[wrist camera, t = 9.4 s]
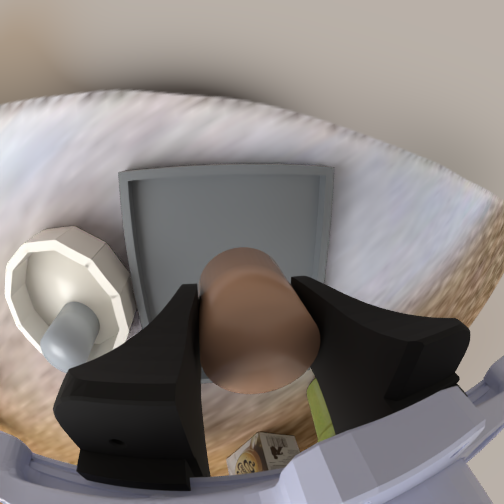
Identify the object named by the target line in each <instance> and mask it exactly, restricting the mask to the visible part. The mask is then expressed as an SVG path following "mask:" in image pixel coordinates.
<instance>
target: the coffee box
mask: <svg viewBox="0 0 504 504" xmlns="http://www.w3.org/2000/svg"><path fill="white" fill-rule="evenodd" d="M299 453H300V450H299V448H298V445H297V442H296V439H295V437H294V436H290V435H279V434H271V433H263V432H258V433H256V434H255V435H254V436H253V437H252V438H251V439H250V440H249V441H247V442H246V443H245V444H244V445H243V446H242V447H240V448H239V449H238V450H237V451H236V452H235V453H233V454H232V455H231V456H230V457H228V458H227V459H226V460H227V466H228V471H229V476H230V475H240V474H248V473H255V472H262V471H268V470H274V469H279V468H284V467H286V465H287V464H288V463H289V462H290V461H291V460H292V459H293V458H294V457H295V455H297V454H299Z"/></svg>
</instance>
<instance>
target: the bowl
mask: <svg viewBox="0 0 504 504" xmlns="http://www.w3.org/2000/svg"><path fill="white" fill-rule="evenodd" d="M5 298H6V300H7V303H8V306H9V308H10V311H11V313H12V316H13V318H14V321H15V323H16V325H17V327H18V328H19V330H20V331H21V332H22V333H23V334H24V335H25V337H26V338H27V339H28V340H29V341H30V342H31V343H32V344H33V345H34V347H35V348H36V349H37V350H38V351H39V352H41V353H42V350H41V347H40V342H41V339H42V337H43V335H44V334H45V332H46V331H47V329H48V328H49V326H50V325H51V323H52V322H53V320H54V319H55V318H56V316H57V315H58V313H59V312H60V310H61V309H62V308H63V306H64V305H65V304H67V303H69V302H79V303H82V304H84V305H86V306H88V307H89V308H90V309H91V310H92V311H93V312H94V313H95V314H96V316H97V318H98V320H99V324H100V330H99V333H98V335H97V338H96V340H95V342H94V344H93V347H92V349H91V352H90V354H89V356H88V359H87V361H86V362H88V361H91V360H93V359H96V358H98V357H100V356H102V355H104V354H106V353H108V352H110V351H111V350H113V349H115V348H117V347H118V346H120V345H122V344H123V343H124V342H125V341H126V339H127V336H128V333H129V330H130V327H131V324H132V321H133V318H134V315H135V312H136V309H137V305H136V301H135V296H134V291H133V286H132V281H131V276H130V273H129V272H128V270H127V269H126V268H125V267H124V265H123V264H122V263H121V261H120V260H119V259H118V257H117V256H116V255H115V253H114V252H113V251H112V249H111V248H110V247H109V245H108V244H107V243H106V242H104V241H102V240H100V239H98V238H96V237H95V236H93V235H91V234H89V233H87V232H85V231H83V230H81V229H79V228H77V227H75V226H69V227H60V228H52V229H45V230H43V231H42V232H40V233H38V234H37V235H35V236H34V237H32V238H31V239H29V240H28V241H26V242H25V243H23V245H22V246H21V247H20V248H19V249H18V251H17V252H16V253H15V254H14V256H13V257H12V258H11V259H10V261H9V262H8V263H7V265H6V277H5ZM42 354H43V353H42Z"/></svg>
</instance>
